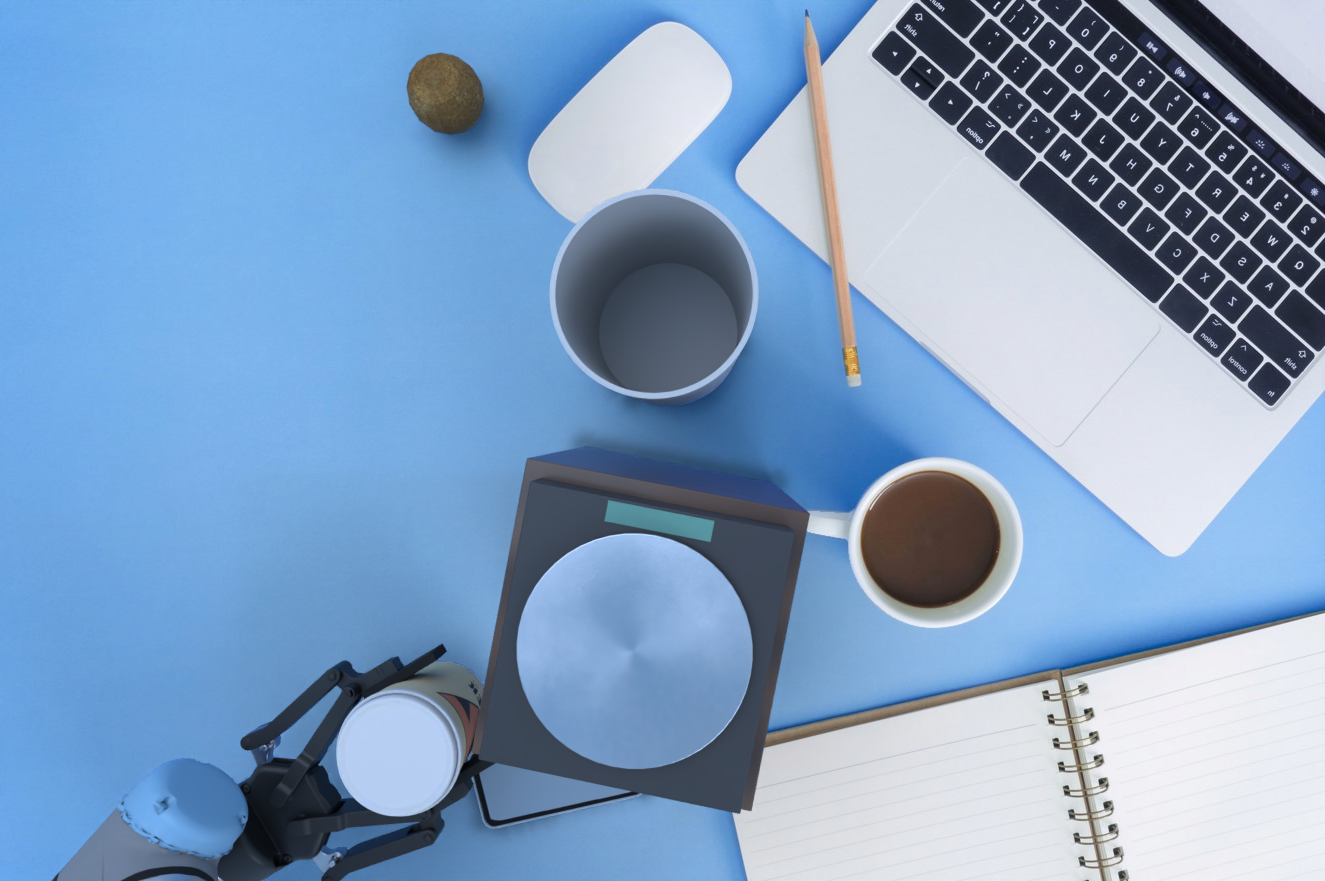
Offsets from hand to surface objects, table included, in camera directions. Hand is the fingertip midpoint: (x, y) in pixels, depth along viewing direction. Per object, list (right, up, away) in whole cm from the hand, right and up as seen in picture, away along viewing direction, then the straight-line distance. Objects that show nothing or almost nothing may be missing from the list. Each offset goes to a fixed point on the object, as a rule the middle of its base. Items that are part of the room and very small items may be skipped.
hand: (469, 701), depth 69 cm
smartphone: (+6, -9, +10) cm, 14 cm away
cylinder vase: (+16, +30, +9) cm, 35 cm away
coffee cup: (-4, -2, +7) cm, 8 cm away
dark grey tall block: (+15, +10, +9) cm, 20 cm away
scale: (+14, +9, -17) cm, 24 cm away
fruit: (-3, +50, +9) cm, 51 cm away
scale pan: (+14, +9, -20) cm, 26 cm away
